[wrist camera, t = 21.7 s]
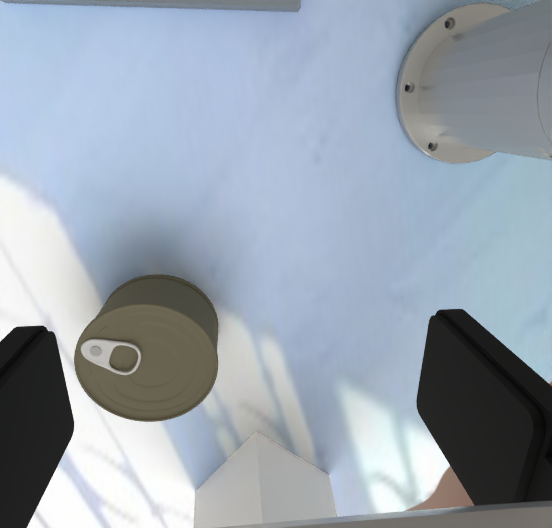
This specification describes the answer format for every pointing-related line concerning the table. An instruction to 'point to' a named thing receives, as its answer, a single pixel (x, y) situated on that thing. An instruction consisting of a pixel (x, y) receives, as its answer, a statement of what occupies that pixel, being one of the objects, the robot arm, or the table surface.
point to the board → (181, 4)
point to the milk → (263, 488)
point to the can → (150, 350)
